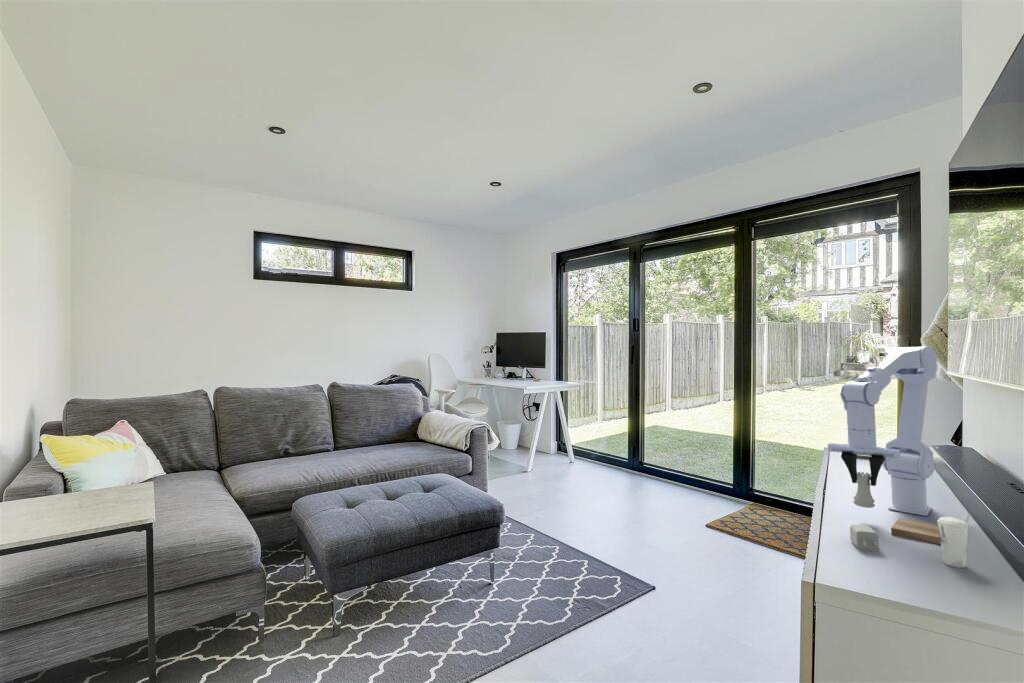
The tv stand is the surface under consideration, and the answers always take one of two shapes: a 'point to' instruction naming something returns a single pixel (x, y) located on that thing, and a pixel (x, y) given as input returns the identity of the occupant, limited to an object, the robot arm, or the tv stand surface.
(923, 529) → the walnut plinth
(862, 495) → the rook chess piece
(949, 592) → the tv stand surface
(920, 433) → the robot arm
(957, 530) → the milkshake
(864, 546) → the usb wall charger
